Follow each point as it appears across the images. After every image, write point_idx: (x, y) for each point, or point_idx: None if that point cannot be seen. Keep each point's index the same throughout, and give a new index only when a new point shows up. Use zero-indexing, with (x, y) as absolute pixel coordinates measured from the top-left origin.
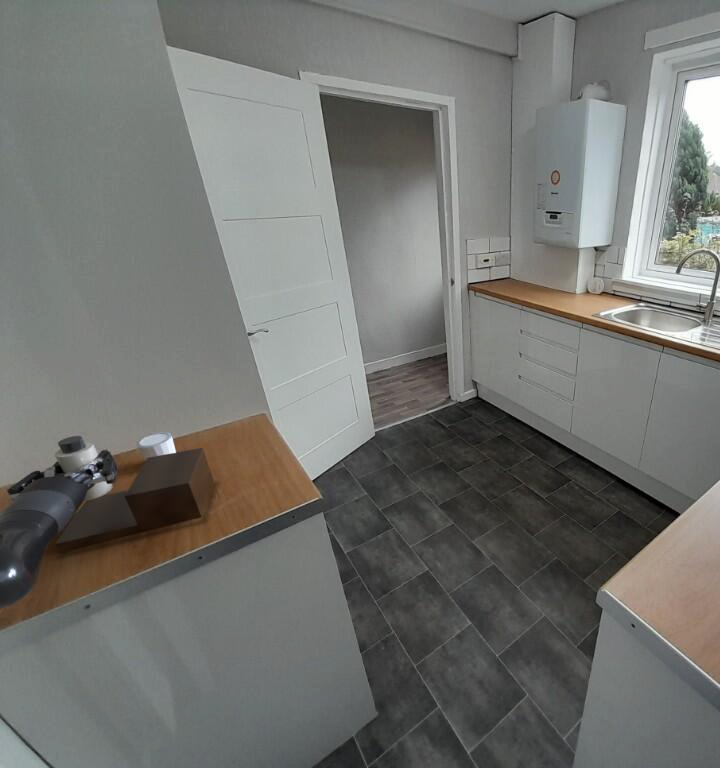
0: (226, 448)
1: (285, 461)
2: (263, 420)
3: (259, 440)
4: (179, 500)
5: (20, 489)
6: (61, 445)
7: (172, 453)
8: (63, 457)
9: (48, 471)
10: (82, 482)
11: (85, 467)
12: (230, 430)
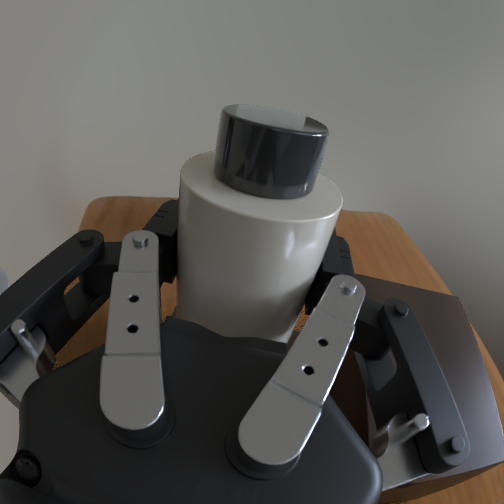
0: (378, 264)
1: (482, 350)
2: (400, 226)
3: (420, 270)
4: (444, 485)
5: (10, 346)
6: (244, 126)
7: (406, 286)
8: (226, 213)
9: (131, 278)
10: None
11: (341, 359)
12: (363, 224)
